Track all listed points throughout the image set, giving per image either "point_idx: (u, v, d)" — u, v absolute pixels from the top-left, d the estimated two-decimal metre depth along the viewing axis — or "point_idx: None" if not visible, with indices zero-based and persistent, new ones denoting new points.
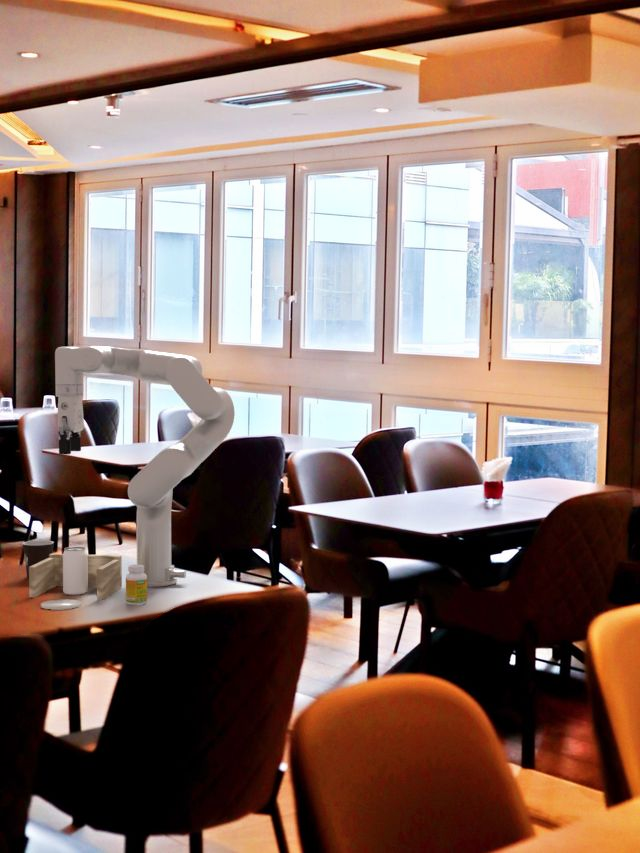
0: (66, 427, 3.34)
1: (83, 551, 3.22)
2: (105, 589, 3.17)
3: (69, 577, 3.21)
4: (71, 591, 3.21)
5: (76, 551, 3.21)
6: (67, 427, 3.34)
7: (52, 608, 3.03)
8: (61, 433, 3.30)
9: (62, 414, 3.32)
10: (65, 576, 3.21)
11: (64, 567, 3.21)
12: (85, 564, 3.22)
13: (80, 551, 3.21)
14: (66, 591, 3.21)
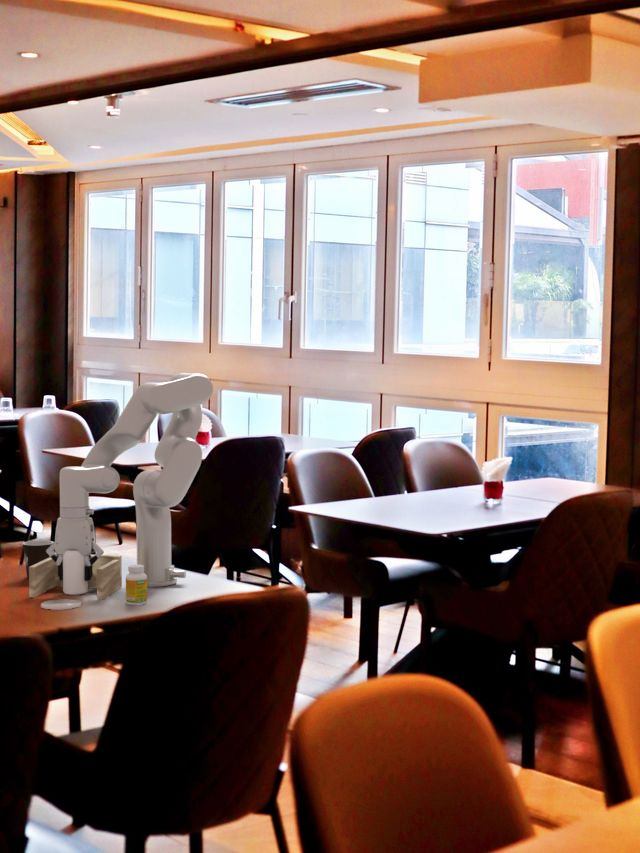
0: None
1: None
2: (105, 589, 3.17)
3: (69, 577, 3.21)
4: (71, 591, 3.21)
5: (76, 551, 3.21)
6: None
7: (52, 608, 3.03)
8: (97, 559, 3.22)
9: (92, 536, 3.22)
10: (65, 576, 3.21)
11: (64, 567, 3.21)
12: (85, 564, 3.22)
13: None
14: (66, 591, 3.21)
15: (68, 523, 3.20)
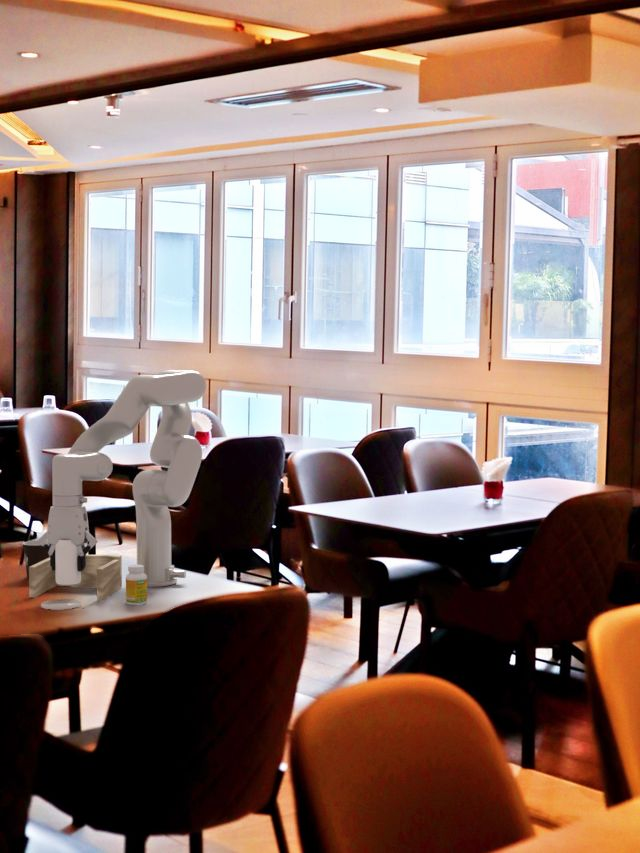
0: None
1: None
2: (105, 589, 3.17)
3: (62, 567, 3.13)
4: (64, 582, 3.13)
5: (69, 540, 3.13)
6: None
7: (52, 608, 3.03)
8: (90, 548, 3.14)
9: (85, 525, 3.14)
10: (57, 566, 3.13)
11: (56, 557, 3.14)
12: (78, 554, 3.14)
13: None
14: (58, 581, 3.13)
15: (61, 512, 3.12)
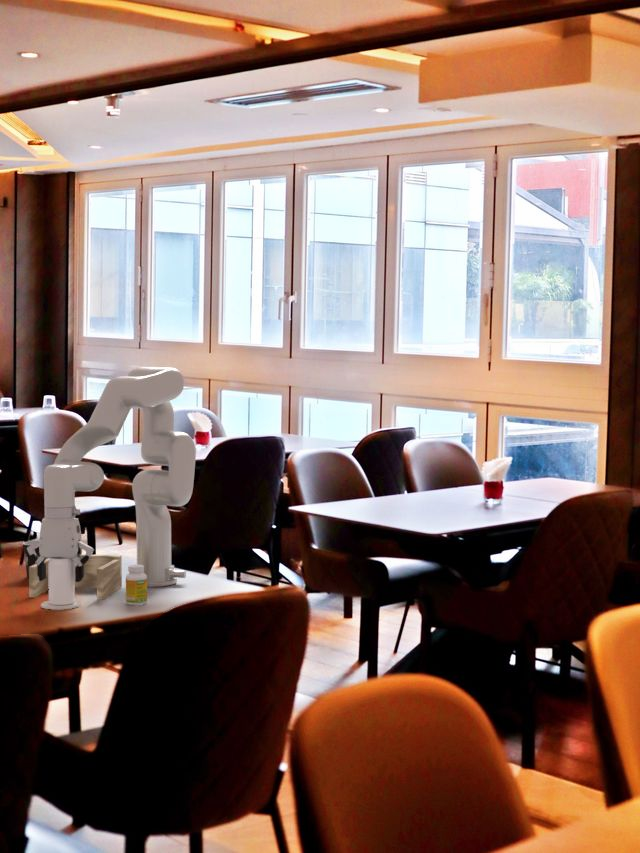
0: None
1: (70, 559, 3.06)
2: (105, 589, 3.17)
3: (55, 587, 3.05)
4: (57, 602, 3.05)
5: (62, 559, 3.05)
6: None
7: (52, 608, 3.03)
8: (89, 558, 3.06)
9: (78, 537, 3.06)
10: (50, 586, 3.05)
11: (50, 576, 3.05)
12: (72, 573, 3.06)
13: (66, 559, 3.05)
14: (52, 601, 3.05)
15: (53, 524, 3.04)
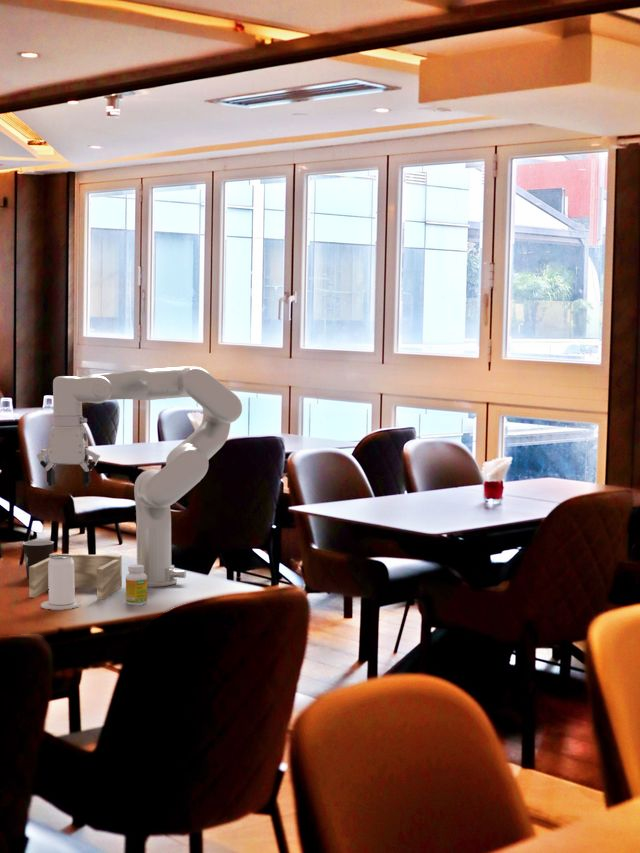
0: None
1: (70, 559, 3.06)
2: (105, 589, 3.17)
3: (55, 587, 3.05)
4: (57, 602, 3.05)
5: (62, 559, 3.05)
6: None
7: (52, 608, 3.03)
8: (95, 464, 3.25)
9: (85, 445, 3.25)
10: (50, 586, 3.05)
11: (50, 576, 3.05)
12: (72, 573, 3.06)
13: (66, 559, 3.05)
14: (52, 601, 3.05)
15: (62, 432, 3.23)
